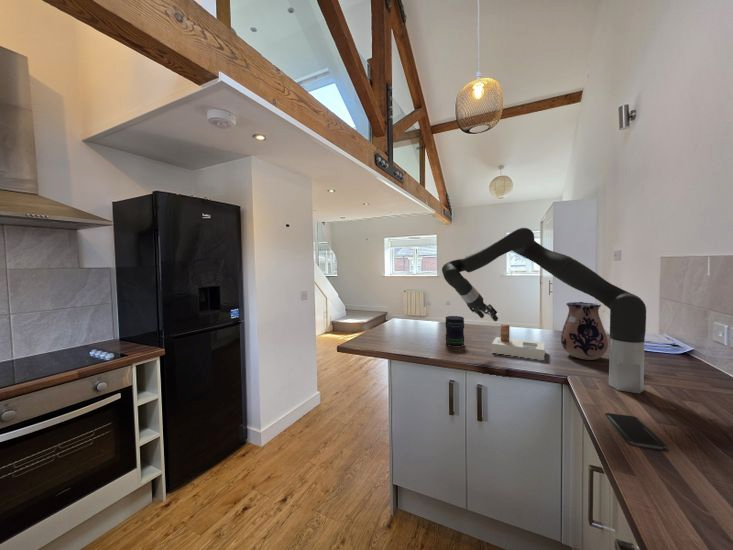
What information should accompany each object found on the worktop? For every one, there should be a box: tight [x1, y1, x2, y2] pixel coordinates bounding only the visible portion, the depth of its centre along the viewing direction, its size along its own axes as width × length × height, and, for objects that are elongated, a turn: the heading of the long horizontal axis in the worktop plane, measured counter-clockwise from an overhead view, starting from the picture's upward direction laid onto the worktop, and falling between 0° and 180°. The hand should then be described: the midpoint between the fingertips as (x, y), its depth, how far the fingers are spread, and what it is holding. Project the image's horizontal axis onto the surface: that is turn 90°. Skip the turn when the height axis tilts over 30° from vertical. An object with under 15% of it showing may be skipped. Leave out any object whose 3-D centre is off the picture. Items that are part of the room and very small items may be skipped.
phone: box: [604, 412, 668, 451], centre depth 78 cm, size 8×1×15 cm
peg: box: [500, 323, 510, 342], centre depth 148 cm, size 4×4×8 cm
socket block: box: [491, 336, 546, 361], centre depth 145 cm, size 14×22×5 cm, turn 58°
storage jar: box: [445, 315, 465, 347], centre depth 161 cm, size 10×10×15 cm
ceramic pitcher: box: [560, 301, 609, 361], centre depth 138 cm, size 18×21×25 cm
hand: (489, 318), depth 143 cm, fingers open, 8 cm apart
